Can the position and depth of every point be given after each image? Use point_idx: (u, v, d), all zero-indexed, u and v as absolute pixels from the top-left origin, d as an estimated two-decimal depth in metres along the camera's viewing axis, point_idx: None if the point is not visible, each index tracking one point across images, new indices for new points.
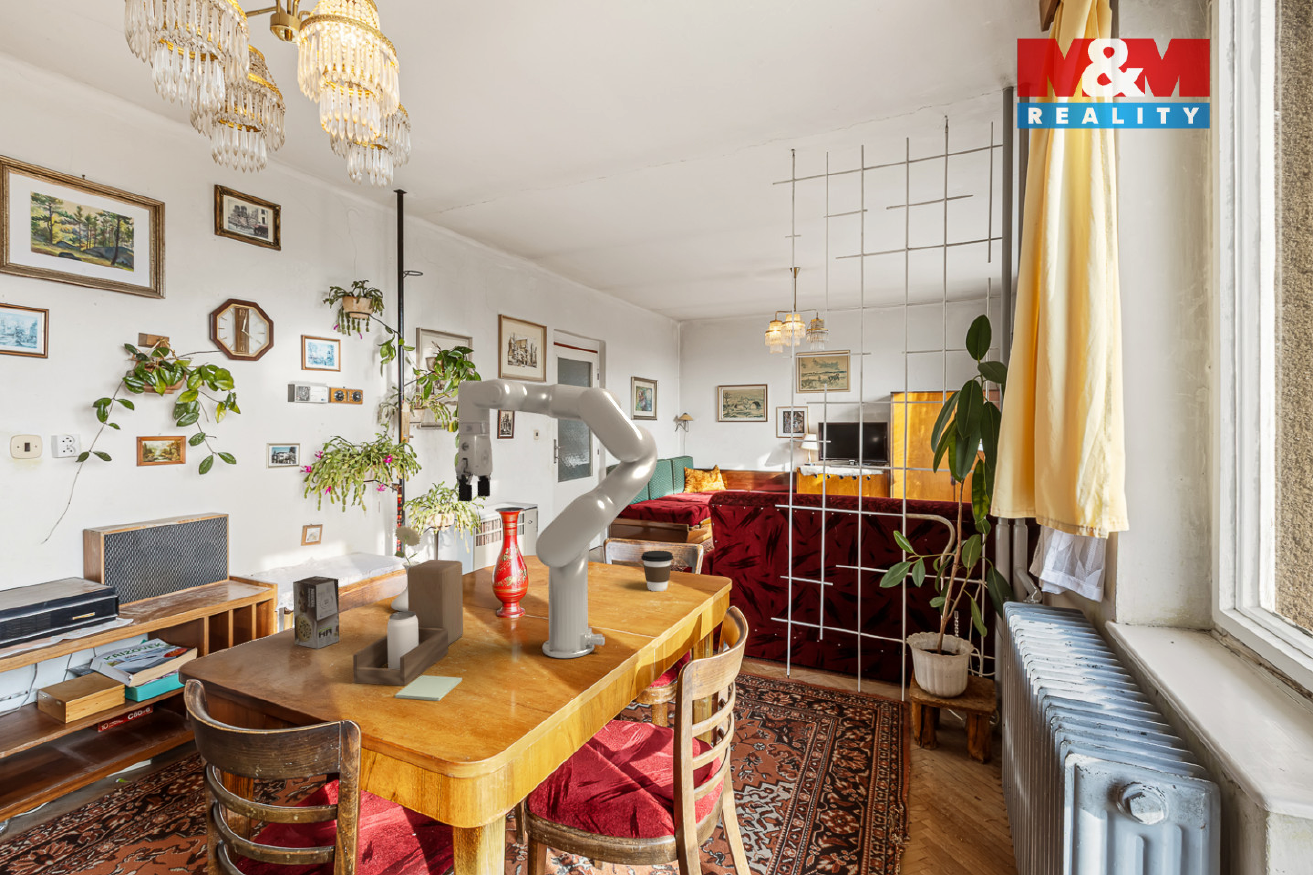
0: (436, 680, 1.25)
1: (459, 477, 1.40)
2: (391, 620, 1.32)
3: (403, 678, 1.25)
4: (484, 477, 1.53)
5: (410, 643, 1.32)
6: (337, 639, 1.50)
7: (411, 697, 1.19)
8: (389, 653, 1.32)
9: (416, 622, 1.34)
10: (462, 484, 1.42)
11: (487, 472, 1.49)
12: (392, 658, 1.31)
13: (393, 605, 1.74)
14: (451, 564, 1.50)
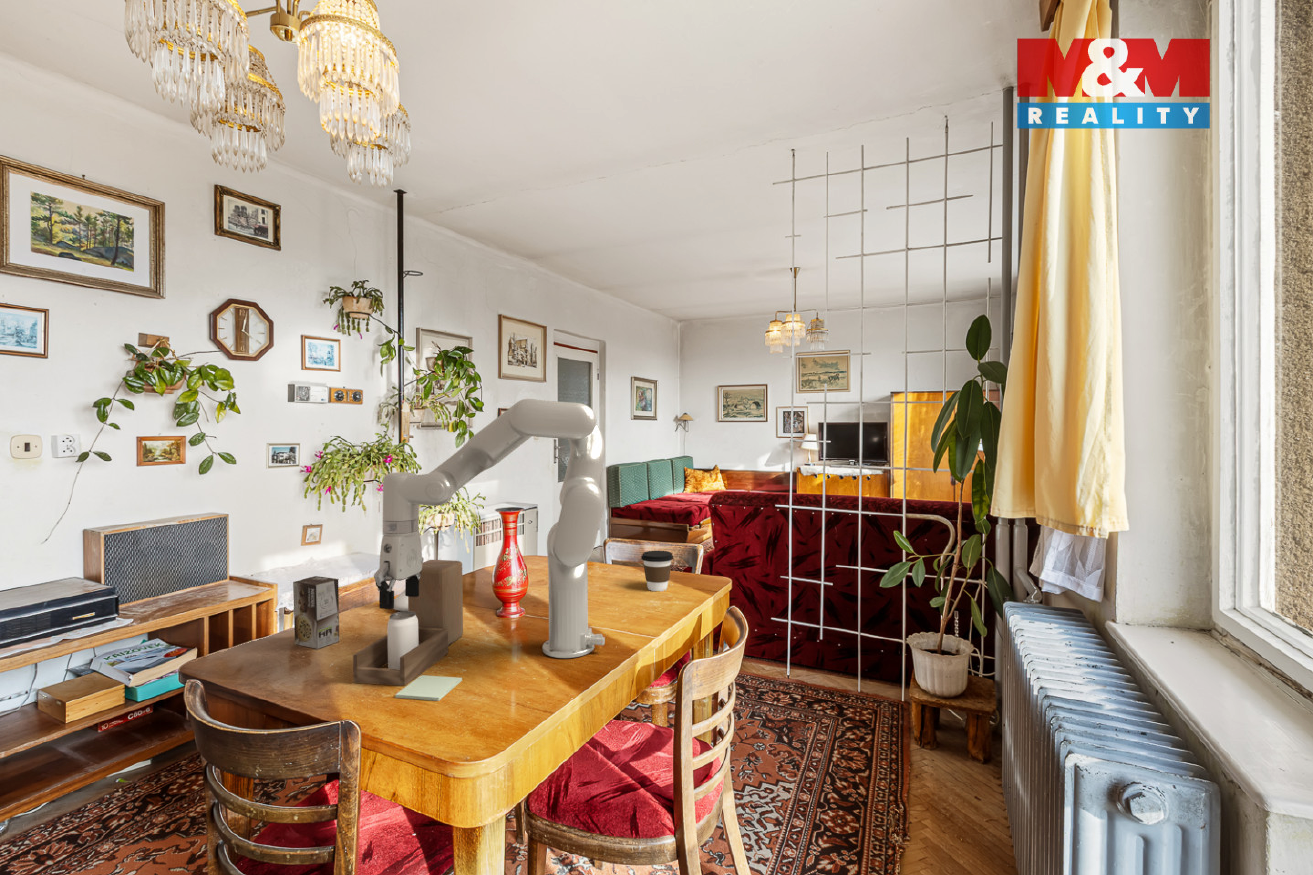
0: (436, 680, 1.25)
1: (378, 584, 1.26)
2: (391, 620, 1.32)
3: (403, 678, 1.25)
4: (413, 575, 1.39)
5: (410, 643, 1.32)
6: (337, 639, 1.50)
7: (411, 697, 1.19)
8: (389, 653, 1.32)
9: (416, 622, 1.34)
10: (383, 591, 1.28)
11: (414, 573, 1.35)
12: (392, 658, 1.31)
13: None
14: (451, 564, 1.50)
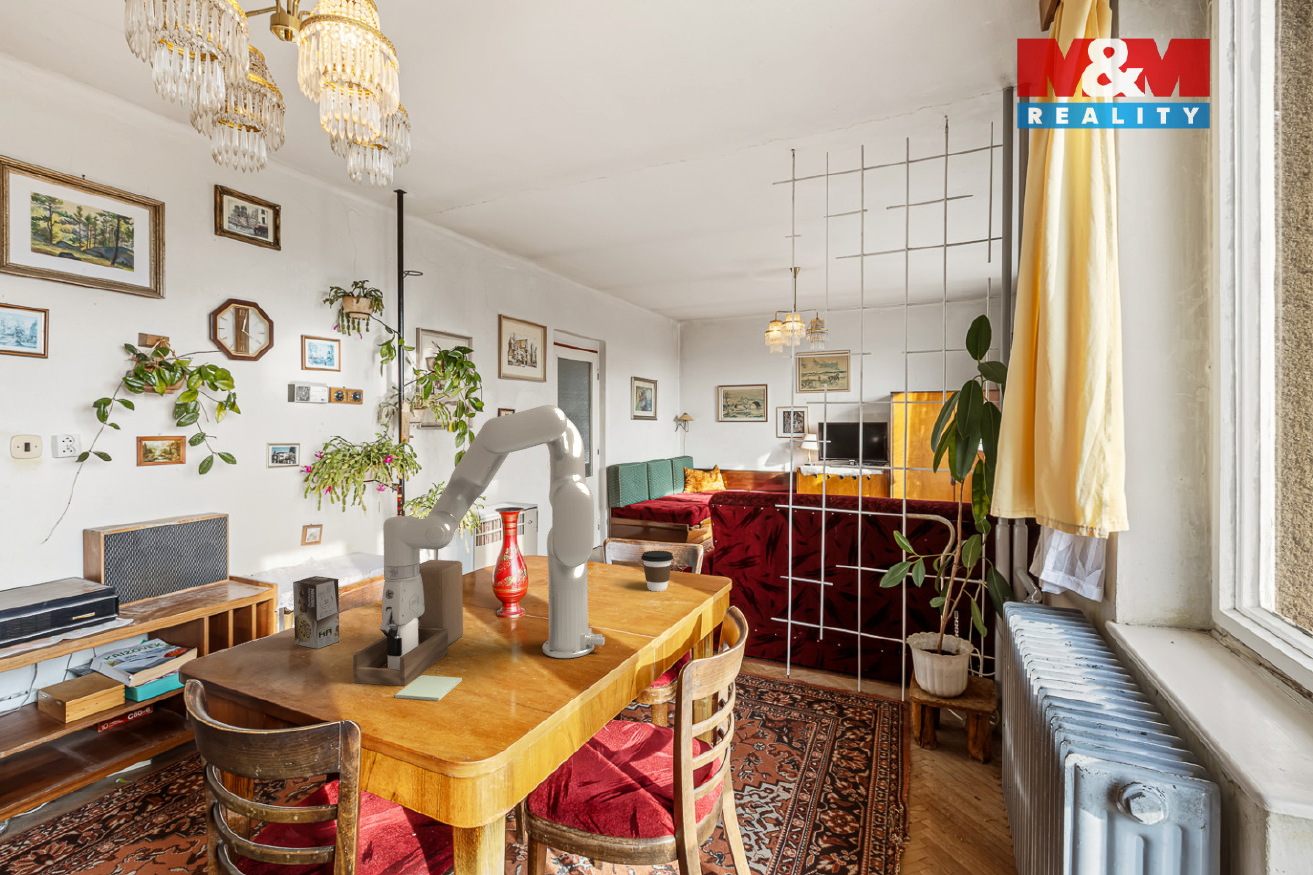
0: (436, 680, 1.25)
1: (386, 633, 1.28)
2: None
3: (403, 678, 1.25)
4: None
5: (409, 643, 1.32)
6: (337, 639, 1.50)
7: (411, 697, 1.19)
8: None
9: (416, 622, 1.34)
10: (390, 638, 1.30)
11: (417, 616, 1.35)
12: (391, 658, 1.31)
13: None
14: (451, 564, 1.50)
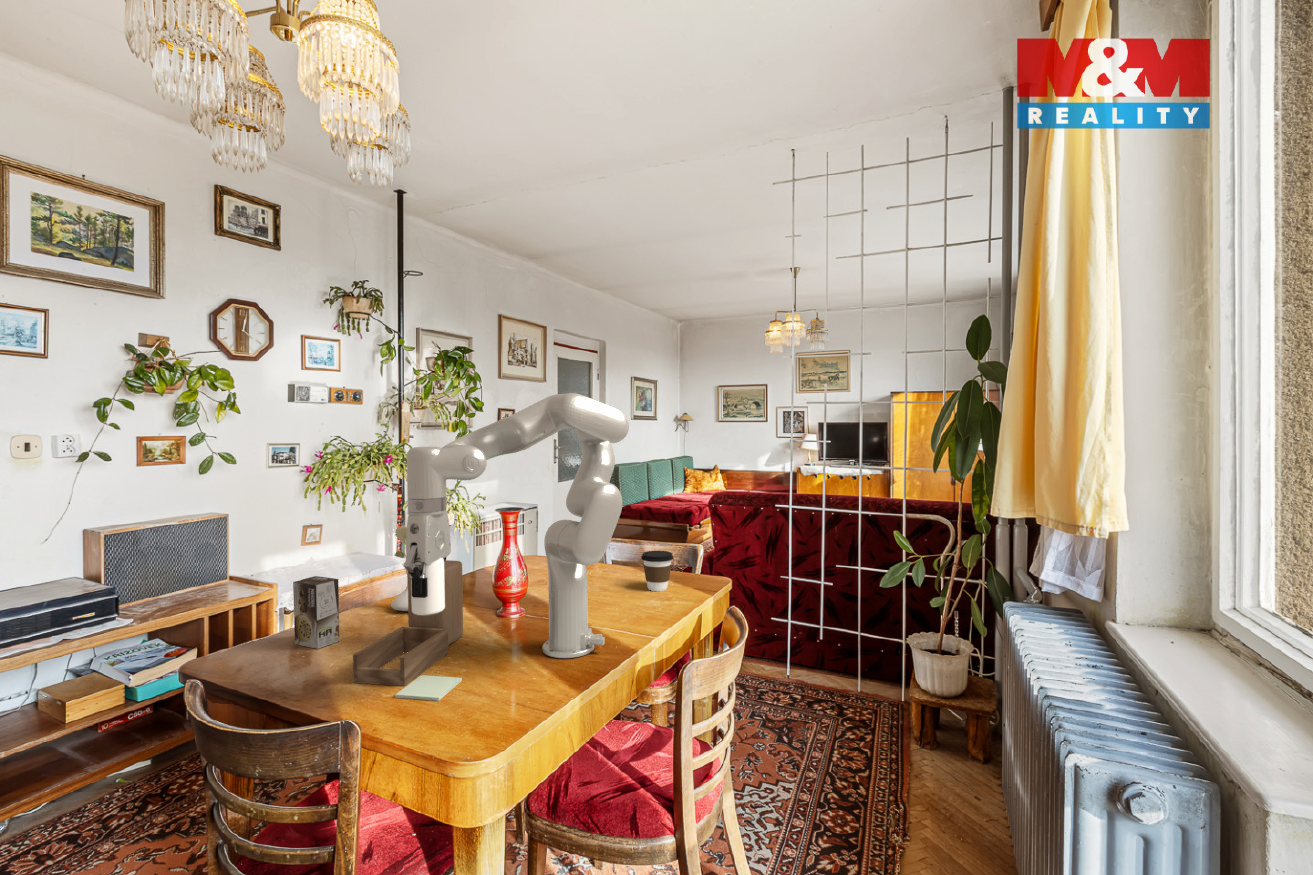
0: (436, 680, 1.25)
1: (411, 571, 1.17)
2: None
3: (403, 678, 1.25)
4: None
5: (435, 584, 1.21)
6: (337, 639, 1.50)
7: (411, 697, 1.19)
8: None
9: (442, 562, 1.22)
10: (415, 578, 1.18)
11: (443, 556, 1.23)
12: (416, 600, 1.20)
13: (393, 605, 1.74)
14: (451, 564, 1.50)
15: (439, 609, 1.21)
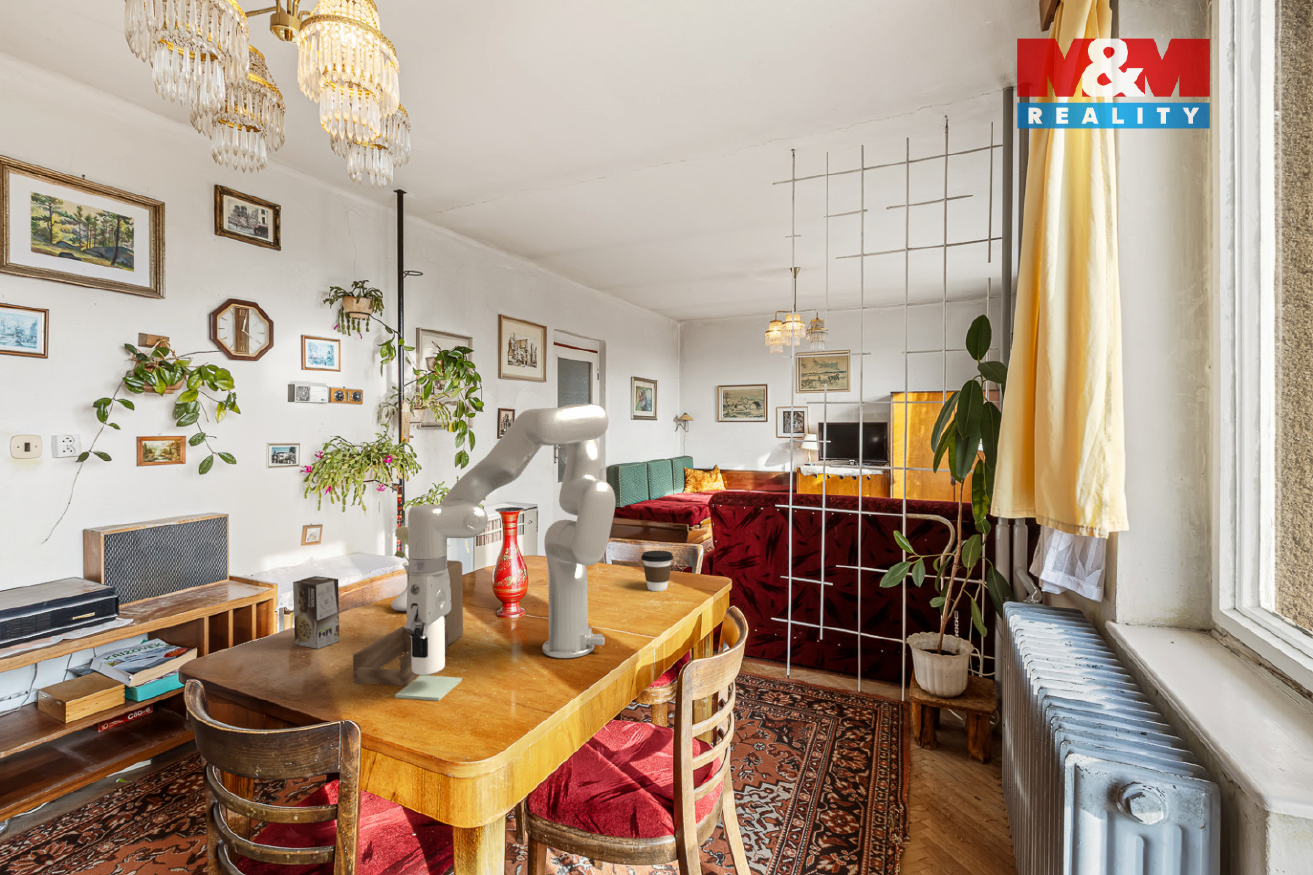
0: (436, 680, 1.25)
1: (411, 632, 1.17)
2: None
3: (403, 678, 1.25)
4: None
5: (436, 643, 1.21)
6: (337, 639, 1.50)
7: (411, 697, 1.19)
8: None
9: (442, 620, 1.23)
10: (416, 638, 1.19)
11: (444, 614, 1.24)
12: (416, 660, 1.20)
13: (393, 605, 1.74)
14: (451, 564, 1.50)
15: (439, 668, 1.21)
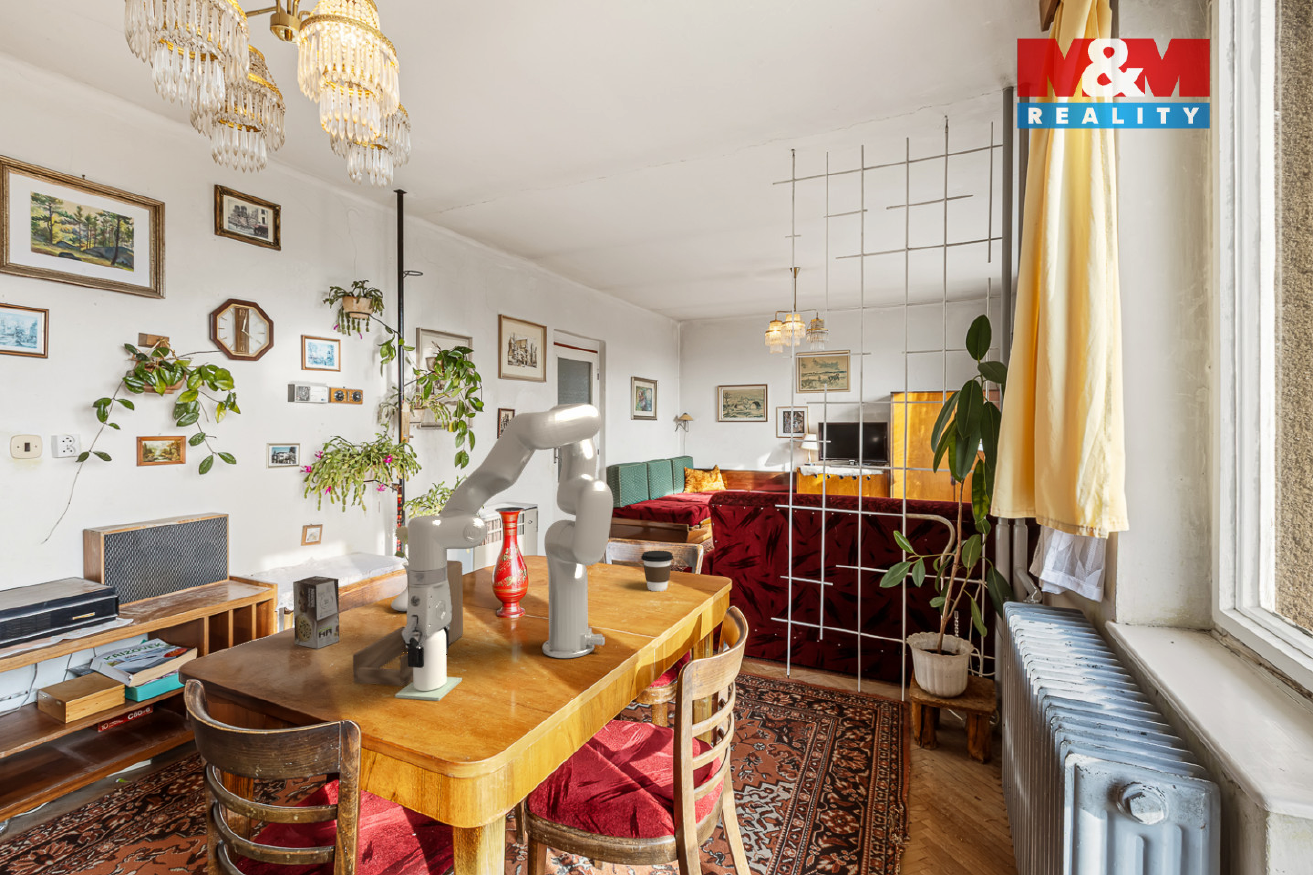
0: None
1: (407, 642, 1.15)
2: None
3: (403, 678, 1.25)
4: None
5: (437, 660, 1.21)
6: (337, 639, 1.50)
7: (411, 697, 1.19)
8: (415, 670, 1.21)
9: (444, 636, 1.23)
10: (411, 648, 1.17)
11: (444, 625, 1.24)
12: (417, 676, 1.20)
13: (393, 605, 1.74)
14: (451, 564, 1.50)
15: (440, 684, 1.22)
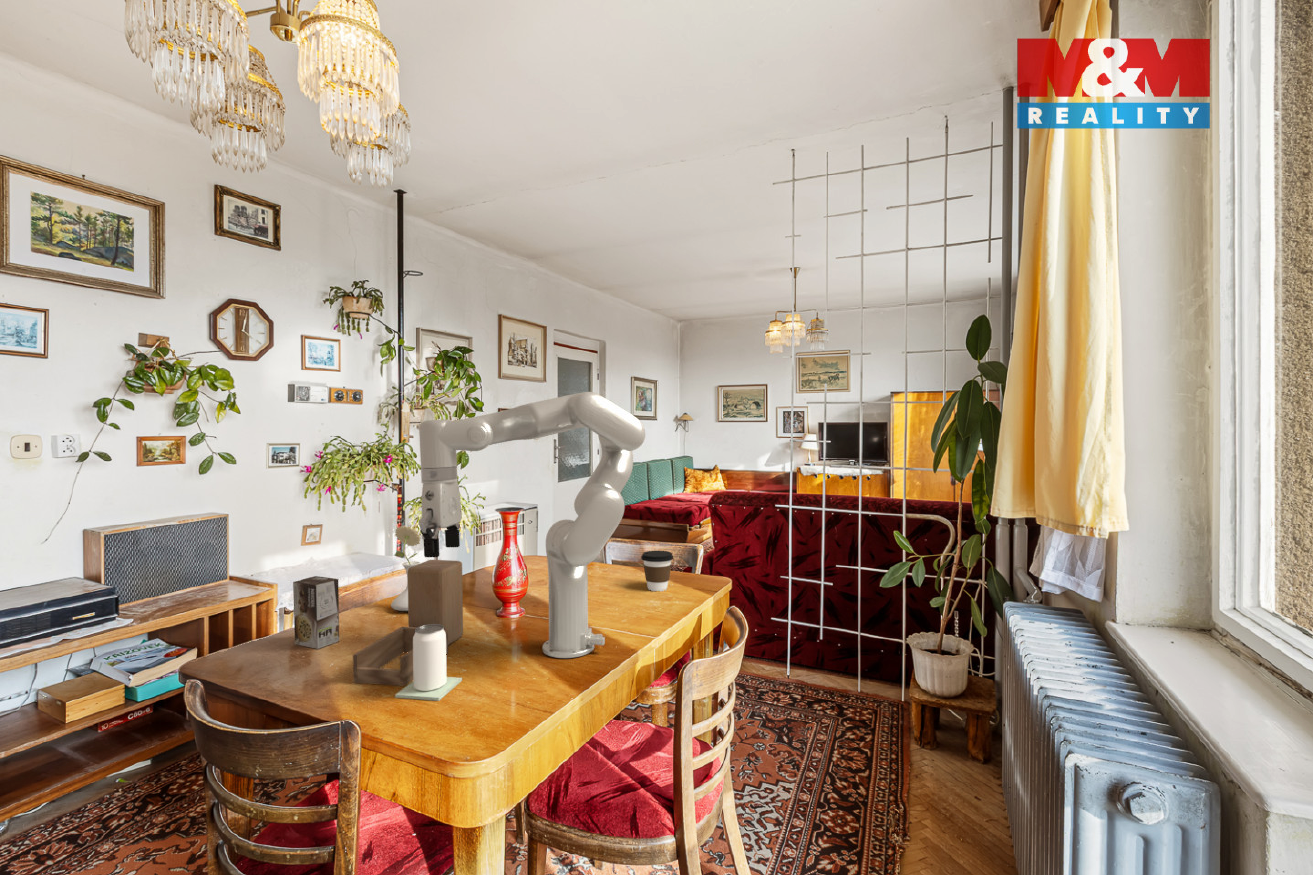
0: None
1: (424, 531, 1.24)
2: (417, 634, 1.21)
3: (403, 678, 1.25)
4: (452, 525, 1.36)
5: (437, 660, 1.21)
6: (337, 639, 1.50)
7: (411, 697, 1.19)
8: (415, 670, 1.21)
9: (444, 636, 1.23)
10: (427, 538, 1.25)
11: (456, 521, 1.32)
12: (417, 676, 1.20)
13: (393, 605, 1.74)
14: (451, 564, 1.50)
15: (440, 684, 1.22)
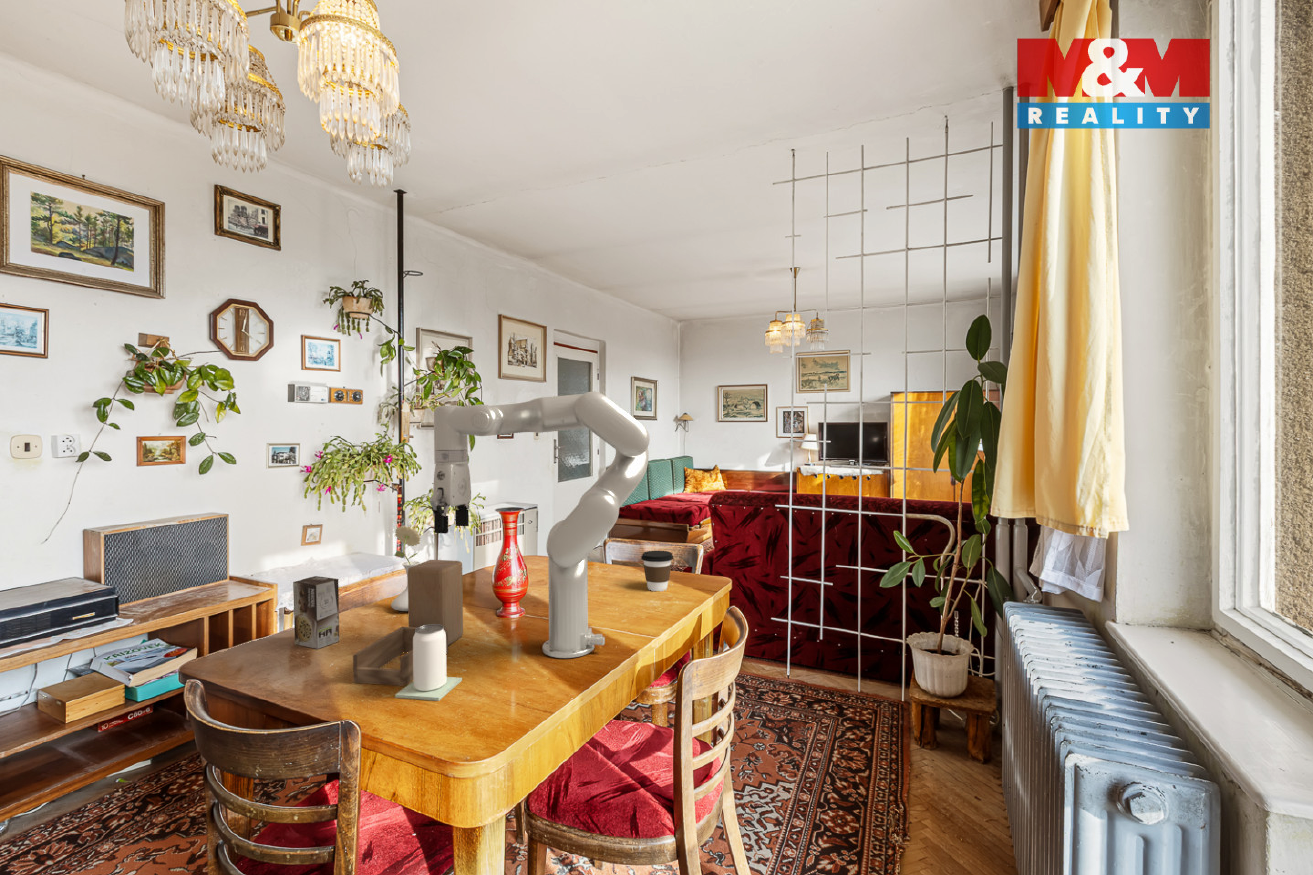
0: None
1: (434, 508, 1.33)
2: (417, 634, 1.21)
3: (403, 678, 1.25)
4: (462, 506, 1.45)
5: (437, 660, 1.21)
6: (337, 639, 1.50)
7: (411, 697, 1.19)
8: (415, 670, 1.21)
9: (444, 636, 1.23)
10: (438, 515, 1.35)
11: (465, 501, 1.41)
12: (417, 676, 1.20)
13: (393, 605, 1.74)
14: (451, 564, 1.50)
15: (440, 684, 1.22)
